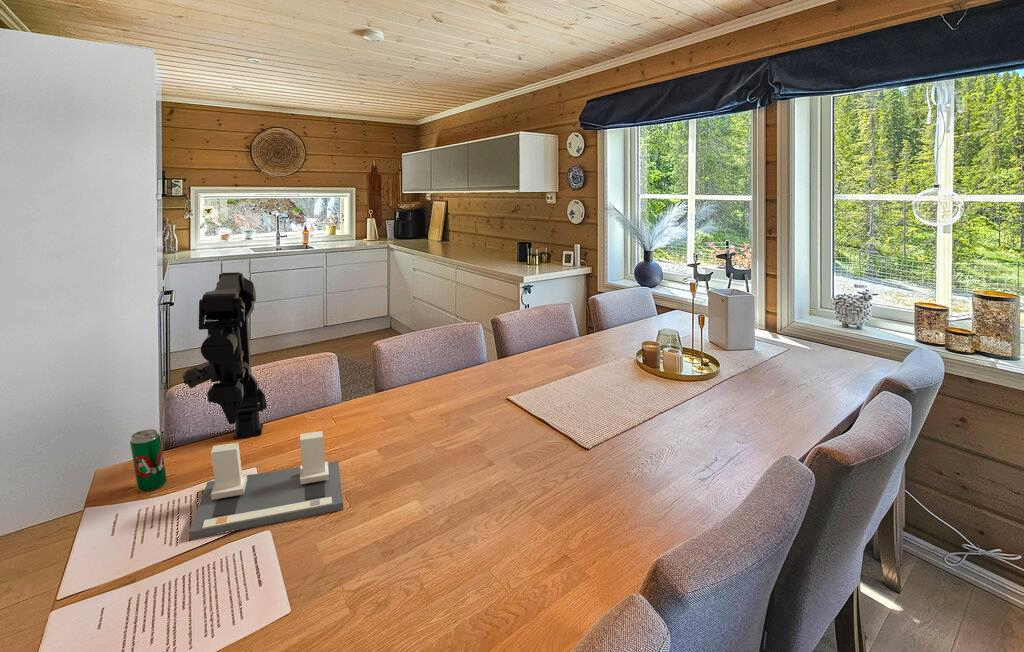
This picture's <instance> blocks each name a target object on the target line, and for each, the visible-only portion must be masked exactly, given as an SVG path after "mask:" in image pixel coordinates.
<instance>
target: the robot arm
mask: <svg viewBox="0 0 1024 652" xmlns="http://www.w3.org/2000/svg"><path fill="white" fill-rule="evenodd" d="M255 302H257V293H256V287H255V285H254V282H253V281H252V280H249V279H248V278H245V277H244V274H243V273H241V272H239V271H235V272H232V271H231V272H222V273H219V275H218V281H217V282H216V287H215V289H214V290H211V291H207V292H205V293H204V294H203V295H202V297H201V299H199V301H198V330H200V331H201V330H202V331H203V330H207V336H206V338H205V339H204V340H203V342H202V344H201V346H200V353H201V356H202V357H203V358H204V359H205V360H206V361H205V362H202V363H201V364H200V363H199V364H198V365H196V366H193V367H190V368H188V369H186V370H185V371H184V372H183V374H182V378H183V384H184V385H187V386H188V388H189V389H193V388H196V386H198V385H201V384H203V383H206V382H208V381H209V380H210V382H211V383H213V384H212V385H211V386H210V387H209V389H208V390H207V392H206V397H207V402H208V403H214V404H216V405H219V406H220V408H221V410H222V411H223V413H224V415H225V418H226V421H227V422H228V424H229V425H234V426H235V430H234V433H233V436H232V437H233V439H241V438H248V437H255V436H261V435H262V434H263V429H264V423H261V420H260V412H264V410H266V409H268V404H267V399H266V395H265V393H264V392H263V390H262V388H260V384H259V382H258V380H257V379H256V378H255V376H254V375H253V374H252V361H251V359H252V358H251V345H250V343H251V342H250V329H249V328H250V327H249V318H250V316H251V315H252V313H253V311H254V310H255Z"/></svg>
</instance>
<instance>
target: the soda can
mask: <svg viewBox="0 0 1024 652" xmlns="http://www.w3.org/2000/svg"><path fill="white" fill-rule="evenodd" d="M130 436H131V439H130V440H129V443H130V444H129V445H130V451H131V456H132V461H133V468H134V473H135V474H134V475H135V479H136V484H137V489H138V490H140V491H143V492H151V491H155V490H158V489H160V488H162V487H164V486H165V484H166V483H167V482H168V477H167V472H166V465H165V459H164V453H163V447H162V440H161V439H162V438H161V434H159V433H158V430H156V429H143V430H140V431H136V432H135V433H133V434H132V435H130Z"/></svg>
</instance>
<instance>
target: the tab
mask: <svg viewBox="0 0 1024 652" xmlns="http://www.w3.org/2000/svg"><path fill="white" fill-rule="evenodd" d="M299 440H300V441H299V442H300V452H301V453H300V454H301V465H300V466H299V467H300V484H306V483H312V482H318V481H323V480H329V471H328V462H329V461H325V459H326V458H325V446H324V434H323V430H321V431H313V432H305V433H300V436H299Z"/></svg>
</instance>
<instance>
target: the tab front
mask: <svg viewBox="0 0 1024 652" xmlns="http://www.w3.org/2000/svg"><path fill="white" fill-rule="evenodd" d="M210 455H211V457H210V458H211V464H212V470H213V478H214V479H213V481H215V484H214V487H213V490H212V493H211V499H212V500H213V499H219V498H225V497H231V496H236V495H242V494H244V492H245V487H246V483H247V475H248V474H243V469H242V463H241V453H240V444H239V442H233V443H226V444H218V445H213V446H212V449H211V452H210Z"/></svg>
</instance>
